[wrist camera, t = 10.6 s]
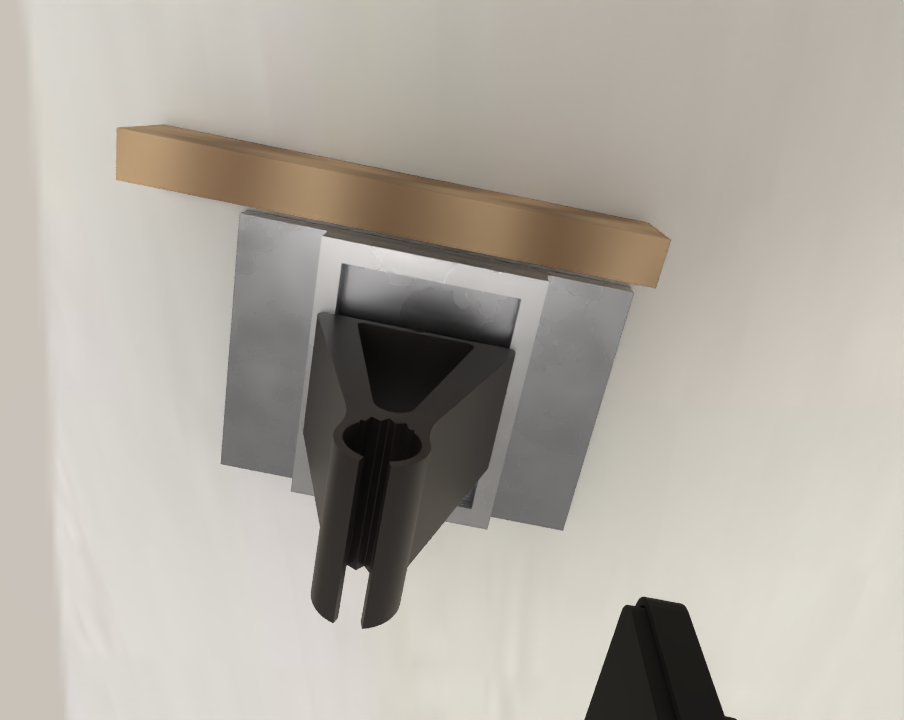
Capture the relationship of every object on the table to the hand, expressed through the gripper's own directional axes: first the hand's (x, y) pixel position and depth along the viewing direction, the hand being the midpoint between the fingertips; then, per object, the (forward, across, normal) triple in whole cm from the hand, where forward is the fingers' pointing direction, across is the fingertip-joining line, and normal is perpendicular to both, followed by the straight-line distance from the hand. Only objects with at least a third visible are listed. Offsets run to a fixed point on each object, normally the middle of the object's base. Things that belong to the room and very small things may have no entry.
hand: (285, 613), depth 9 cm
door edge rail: (+24, +2, -2) cm, 24 cm away
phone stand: (+21, 0, +6) cm, 22 cm away
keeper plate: (+23, 0, +7) cm, 24 cm away
